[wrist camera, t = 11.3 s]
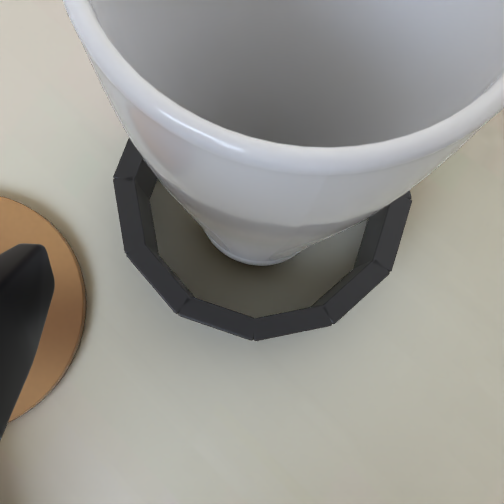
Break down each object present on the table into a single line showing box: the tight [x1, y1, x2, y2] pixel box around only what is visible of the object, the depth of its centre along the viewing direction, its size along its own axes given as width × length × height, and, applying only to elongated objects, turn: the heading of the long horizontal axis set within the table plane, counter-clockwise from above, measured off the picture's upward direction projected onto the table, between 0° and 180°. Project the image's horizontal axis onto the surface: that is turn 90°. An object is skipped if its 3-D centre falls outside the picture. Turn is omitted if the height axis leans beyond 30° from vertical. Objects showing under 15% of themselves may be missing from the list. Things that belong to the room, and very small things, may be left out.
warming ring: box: [113, 138, 412, 341], centre depth 19 cm, size 11×11×3 cm
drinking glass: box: [63, 0, 504, 266], centre depth 13 cm, size 7×7×15 cm
